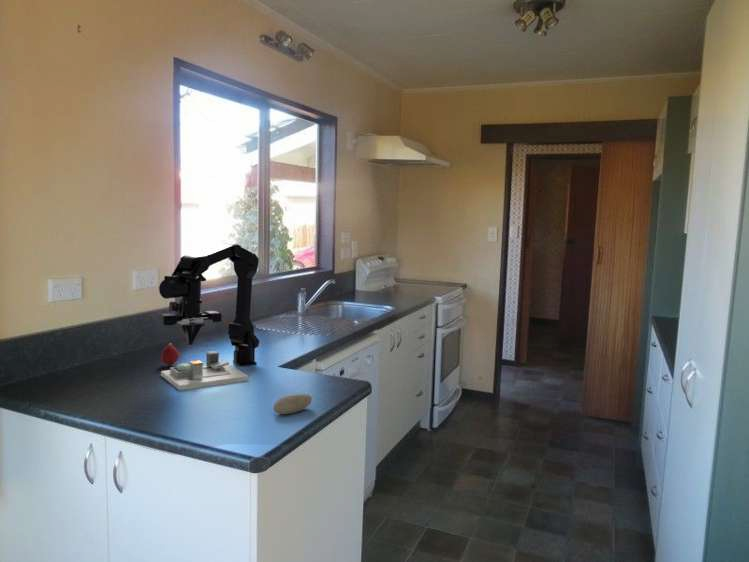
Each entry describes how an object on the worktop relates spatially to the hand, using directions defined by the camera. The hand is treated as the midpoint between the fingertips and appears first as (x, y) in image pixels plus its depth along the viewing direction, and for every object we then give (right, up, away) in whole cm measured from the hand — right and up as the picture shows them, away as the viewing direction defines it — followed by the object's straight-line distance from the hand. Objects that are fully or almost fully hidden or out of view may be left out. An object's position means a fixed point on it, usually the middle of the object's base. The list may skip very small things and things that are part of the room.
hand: (190, 344), depth 180 cm
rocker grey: (+7, -8, +9) cm, 14 cm away
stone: (+36, -16, -24) cm, 46 cm away
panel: (+3, -11, +4) cm, 12 cm away
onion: (-12, -9, +16) cm, 22 cm away
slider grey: (+4, -9, +12) cm, 15 cm away
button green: (-2, -8, +1) cm, 9 cm away
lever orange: (+2, -10, -2) cm, 11 cm away
